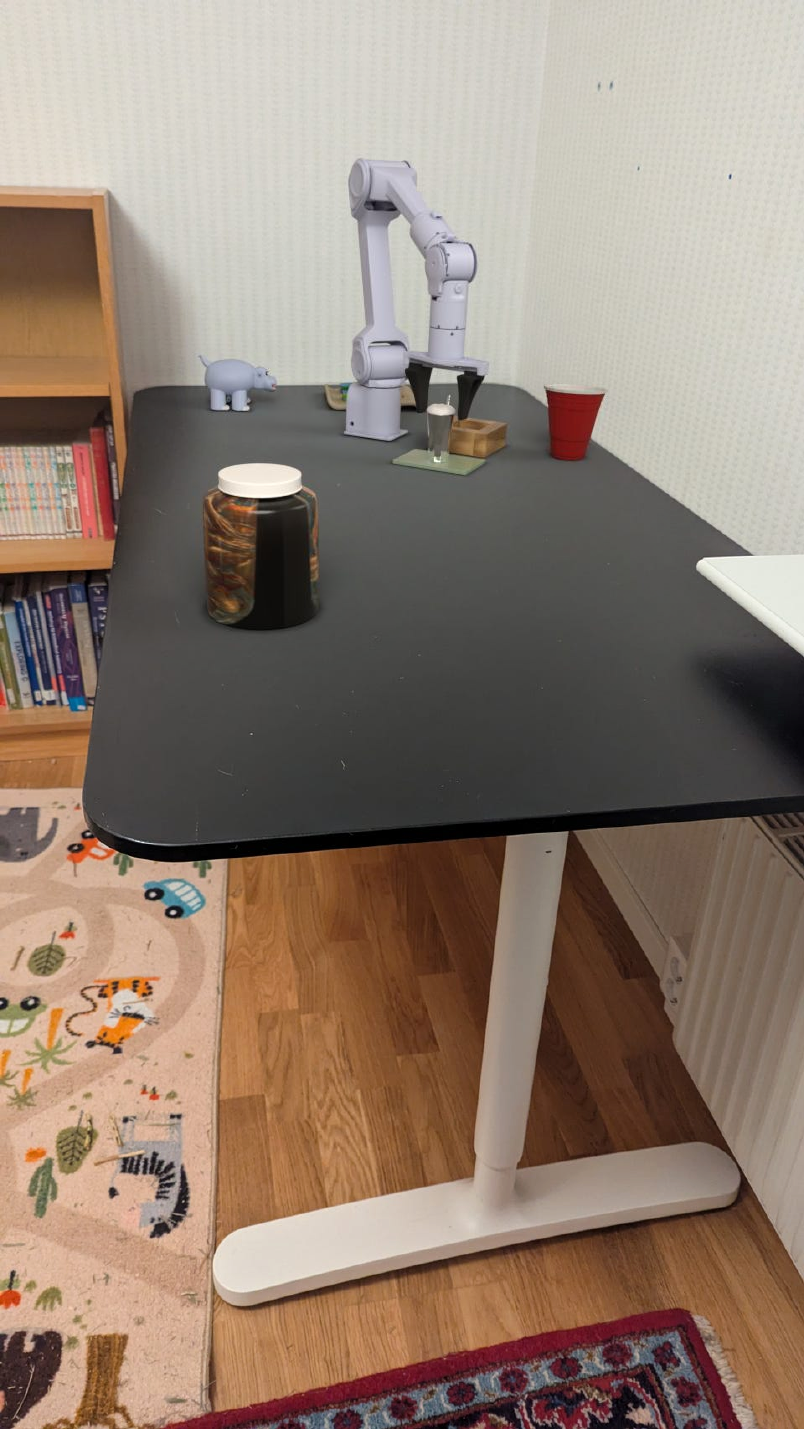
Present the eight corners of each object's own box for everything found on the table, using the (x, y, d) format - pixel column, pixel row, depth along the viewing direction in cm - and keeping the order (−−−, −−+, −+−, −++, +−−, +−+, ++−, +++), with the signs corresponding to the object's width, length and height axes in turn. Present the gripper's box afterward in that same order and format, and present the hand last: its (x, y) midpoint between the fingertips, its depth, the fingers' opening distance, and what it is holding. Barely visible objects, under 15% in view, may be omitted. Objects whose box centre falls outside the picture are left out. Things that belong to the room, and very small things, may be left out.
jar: (271, 640, 104) (268, 496, 96) (185, 613, 109) (176, 475, 102) (338, 605, 113) (340, 471, 105) (255, 582, 118) (252, 452, 111)
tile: (392, 463, 167) (392, 460, 167) (414, 452, 175) (414, 448, 174) (465, 475, 163) (465, 471, 163) (485, 463, 170) (485, 459, 170)
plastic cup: (596, 450, 181) (605, 381, 176) (601, 466, 172) (611, 393, 166) (535, 446, 182) (542, 377, 176) (537, 461, 173) (544, 389, 167)
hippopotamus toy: (277, 412, 198) (276, 361, 193) (198, 410, 196) (196, 359, 191) (277, 401, 207) (276, 352, 203) (202, 399, 205) (200, 350, 201)
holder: (428, 449, 177) (430, 426, 175) (451, 437, 185) (452, 415, 183) (484, 458, 173) (486, 434, 171) (505, 445, 182) (507, 423, 180)
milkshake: (457, 458, 170) (462, 397, 165) (445, 465, 166) (449, 402, 161) (433, 454, 172) (436, 393, 167) (420, 461, 167) (423, 398, 162)
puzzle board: (323, 392, 216) (323, 376, 215) (411, 394, 219) (412, 378, 217) (327, 410, 201) (327, 392, 200) (422, 412, 203) (423, 394, 202)
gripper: (500, 330, 159) (492, 418, 165) (420, 320, 165) (415, 405, 171) (479, 334, 153) (472, 425, 160) (397, 324, 159) (394, 412, 166)
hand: (441, 415), depth 165 cm, fingers open, 7 cm apart
